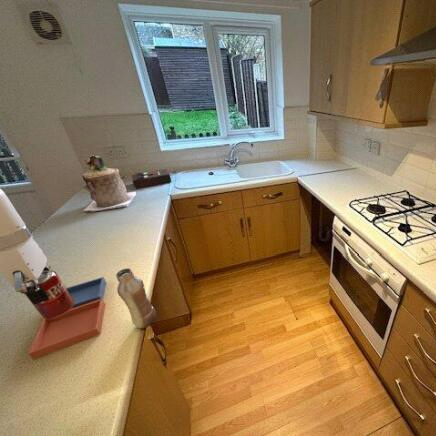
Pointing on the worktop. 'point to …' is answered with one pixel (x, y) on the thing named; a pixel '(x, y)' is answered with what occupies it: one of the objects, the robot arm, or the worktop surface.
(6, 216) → the robot arm
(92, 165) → the cookie jar
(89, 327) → the terracotta tray
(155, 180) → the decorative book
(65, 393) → the worktop surface
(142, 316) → the plastic bottle
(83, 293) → the blue tray
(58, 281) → the soda can
